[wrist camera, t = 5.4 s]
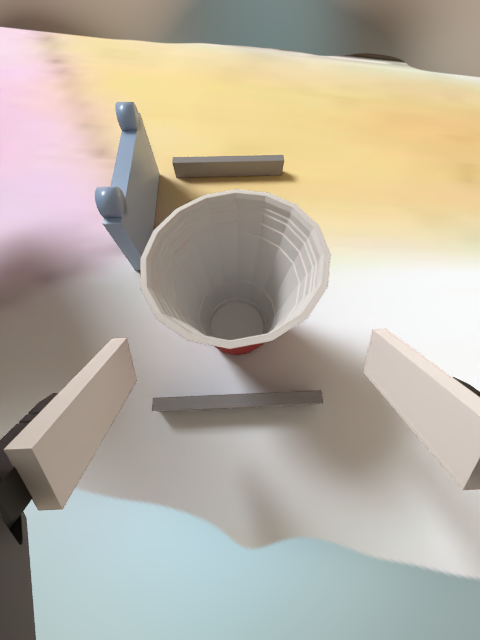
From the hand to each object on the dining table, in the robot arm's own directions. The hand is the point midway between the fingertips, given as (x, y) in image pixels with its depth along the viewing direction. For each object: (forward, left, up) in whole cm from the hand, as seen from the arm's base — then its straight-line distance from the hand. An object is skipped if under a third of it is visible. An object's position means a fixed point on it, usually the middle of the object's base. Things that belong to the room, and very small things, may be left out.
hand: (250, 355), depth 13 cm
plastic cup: (-1, +5, -10) cm, 12 cm away
